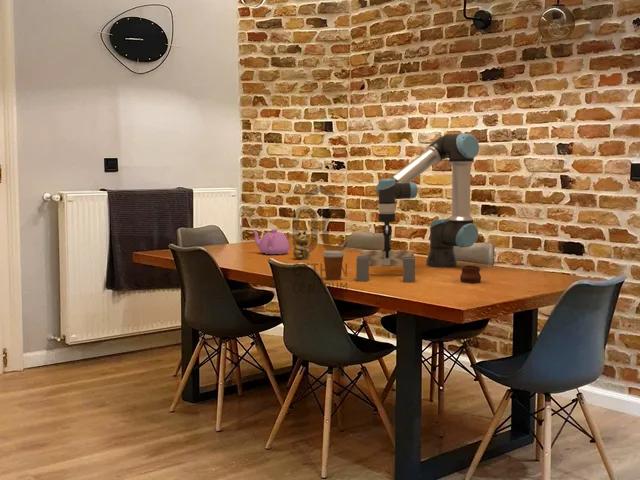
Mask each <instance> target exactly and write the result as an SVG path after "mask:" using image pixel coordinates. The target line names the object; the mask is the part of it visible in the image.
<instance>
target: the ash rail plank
mask: <svg viewBox="0 0 640 480" xmlns="http://www.w3.org/2000/svg"><path fill="white" fill-rule="evenodd" d="M383 250H384V249H382V250H376V249H375V250H373V249H371V250H370V249H369V250H368V249H367V250H366V249H365V250H364V249H362V250H360V255H359V256H369V267H403V257H415V256H414V252H415V250H413V249H412V250H411V249H410V250H408V249H407V250H395V249H394V250H390V265H384V251H383Z"/></svg>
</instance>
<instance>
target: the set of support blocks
mask: <svg viewBox="0 0 640 480" xmlns="http://www.w3.org/2000/svg"><path fill="white" fill-rule="evenodd" d="M369 267H370V266H369V256H360V255H357V257H356V275H355V276H356V279H355V280H356V282H369V278H370V271H369V270H370V268H369ZM415 280H416V257H415V256H414V257H403V266H402V282H403V283H416V281H415Z"/></svg>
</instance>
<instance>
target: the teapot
mask: <svg viewBox="0 0 640 480" xmlns="http://www.w3.org/2000/svg"><path fill="white" fill-rule="evenodd" d="M251 231H252V232H253V233H254V242H255V245H256V246H257V247H258V250H259V252H260V253H262V254H263V253H265V255H266V254H270V255H276V254H281V255H286V254H287V253H288V252H289V251H290V249H291V247H290V242H289V240H288V238H287V237H286V235H285V233H284V232H278V229H277V228H276V229H275V228H273V229H271V230H270V231H271V232H265V233H264V234H263V236H262V238H261V239H260V238H259V233H258V231H257V230H255V229H251Z"/></svg>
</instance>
